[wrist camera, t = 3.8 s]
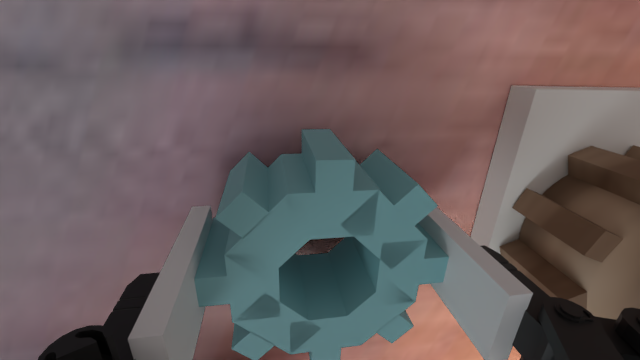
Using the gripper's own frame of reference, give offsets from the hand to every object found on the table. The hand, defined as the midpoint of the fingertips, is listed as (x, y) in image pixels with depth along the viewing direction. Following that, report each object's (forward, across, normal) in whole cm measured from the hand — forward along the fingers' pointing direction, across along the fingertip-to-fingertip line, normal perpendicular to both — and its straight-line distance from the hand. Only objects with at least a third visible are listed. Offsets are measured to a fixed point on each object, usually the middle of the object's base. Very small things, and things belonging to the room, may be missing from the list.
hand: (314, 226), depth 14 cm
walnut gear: (0, -14, +1) cm, 15 cm away
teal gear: (0, 0, 0) cm, 0 cm away
